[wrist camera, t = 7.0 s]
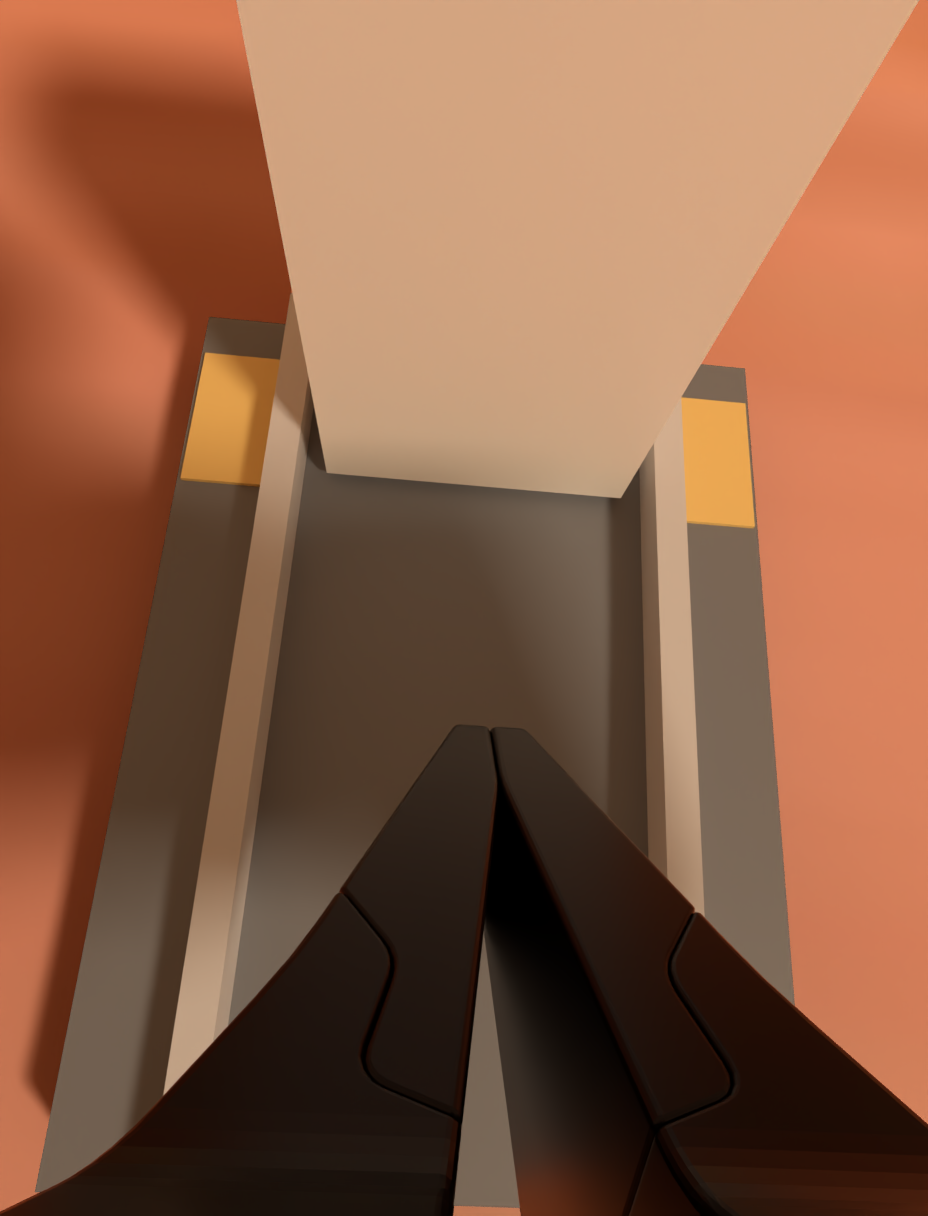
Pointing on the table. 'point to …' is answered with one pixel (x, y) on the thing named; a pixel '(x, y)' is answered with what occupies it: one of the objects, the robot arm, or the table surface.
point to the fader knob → (535, 211)
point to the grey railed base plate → (408, 712)
